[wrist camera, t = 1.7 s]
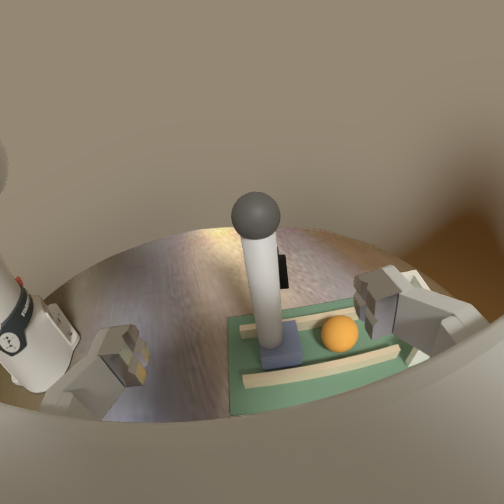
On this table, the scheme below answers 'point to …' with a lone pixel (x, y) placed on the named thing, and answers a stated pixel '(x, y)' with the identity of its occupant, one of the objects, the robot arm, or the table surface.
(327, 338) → the ball
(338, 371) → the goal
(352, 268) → the table surface
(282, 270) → the black boxy piece
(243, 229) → the lever
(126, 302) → the table surface
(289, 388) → the pitch
